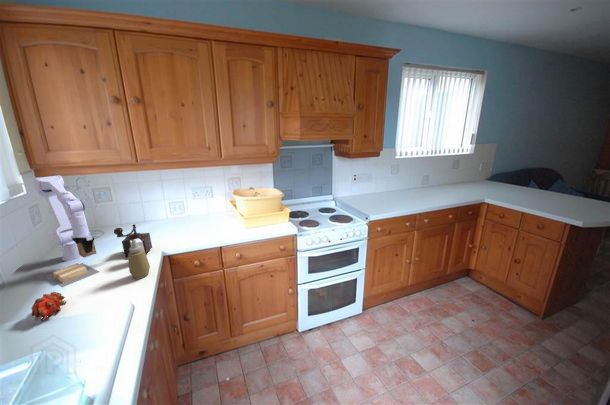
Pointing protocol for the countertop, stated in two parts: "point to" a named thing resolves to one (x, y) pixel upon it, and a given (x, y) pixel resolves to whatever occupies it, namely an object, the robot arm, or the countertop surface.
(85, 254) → the walnut block
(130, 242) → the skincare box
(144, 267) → the squeeze bottle
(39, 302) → the dragon fruit
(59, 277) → the oak base
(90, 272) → the slate mat
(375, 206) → the countertop surface
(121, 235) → the coffee grinder
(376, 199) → the countertop surface
